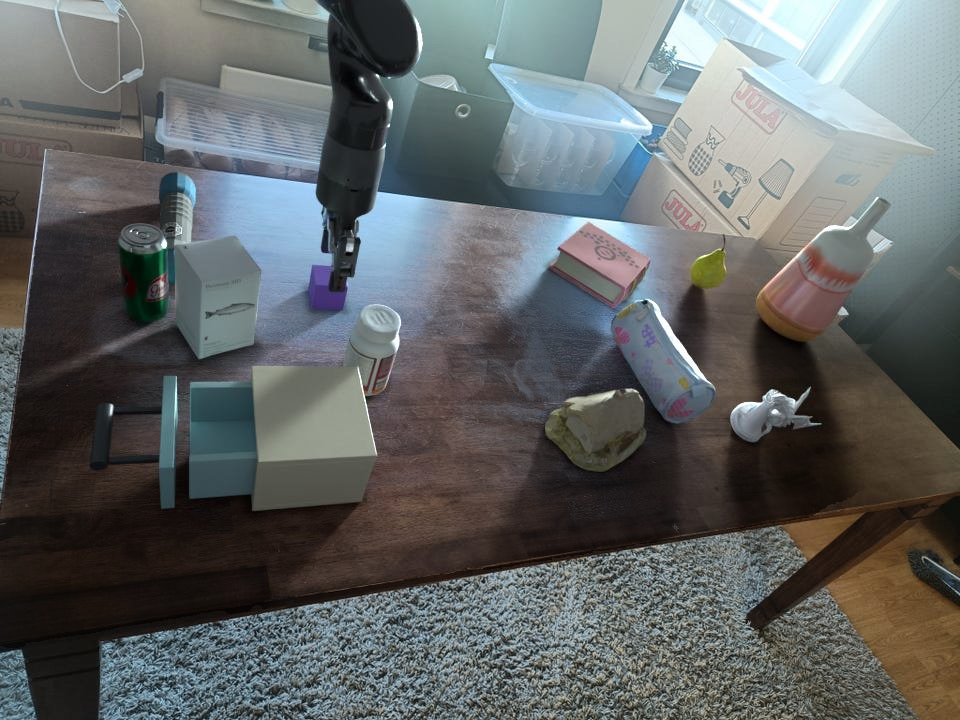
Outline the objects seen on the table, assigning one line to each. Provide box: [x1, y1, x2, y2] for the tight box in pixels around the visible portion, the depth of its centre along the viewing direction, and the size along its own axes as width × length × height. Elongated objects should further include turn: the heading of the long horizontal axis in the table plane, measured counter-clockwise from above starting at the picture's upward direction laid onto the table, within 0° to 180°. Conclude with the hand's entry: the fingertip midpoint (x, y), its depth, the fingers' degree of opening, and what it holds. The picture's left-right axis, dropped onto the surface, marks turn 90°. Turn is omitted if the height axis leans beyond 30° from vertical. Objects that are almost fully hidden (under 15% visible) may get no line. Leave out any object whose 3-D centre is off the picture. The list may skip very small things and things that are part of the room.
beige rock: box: [544, 387, 647, 473], centre depth 86 cm, size 14×11×10 cm
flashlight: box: [158, 171, 197, 286], centre depth 89 cm, size 5×22×5 cm, turn 17°
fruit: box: [689, 233, 727, 290], centre depth 127 cm, size 7×7×12 cm
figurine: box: [729, 386, 821, 443], centre depth 96 cm, size 11×8×12 cm
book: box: [547, 221, 652, 310], centre depth 119 cm, size 14×15×5 cm
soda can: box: [117, 222, 170, 323], centre depth 76 cm, size 5×5×12 cm
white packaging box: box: [174, 235, 262, 360], centre depth 77 cm, size 7×7×13 cm
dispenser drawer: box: [89, 375, 257, 510], centre depth 64 cm, size 16×11×7 cm
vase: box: [755, 196, 892, 343], centre depth 120 cm, size 14×14×30 cm
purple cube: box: [308, 264, 349, 311], centre depth 91 cm, size 4×4×4 cm
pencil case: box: [609, 298, 717, 425], centre depth 100 cm, size 21×9×10 cm, turn 16°
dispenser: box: [249, 365, 378, 512], centre depth 69 cm, size 12×13×9 cm
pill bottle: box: [342, 303, 402, 397], centre depth 80 cm, size 6×6×11 cm
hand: (331, 270), depth 89 cm, fingers open, 8 cm apart
